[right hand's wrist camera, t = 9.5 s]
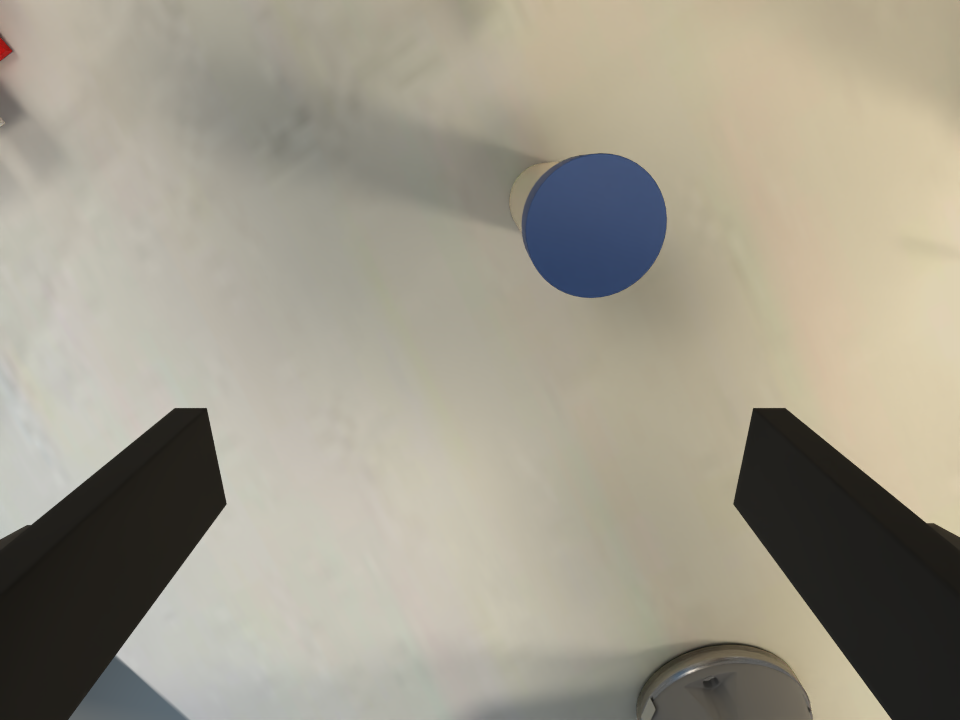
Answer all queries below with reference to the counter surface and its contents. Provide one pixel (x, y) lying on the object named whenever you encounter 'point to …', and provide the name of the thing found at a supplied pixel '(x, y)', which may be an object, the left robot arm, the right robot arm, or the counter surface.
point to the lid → (594, 224)
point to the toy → (3, 50)
